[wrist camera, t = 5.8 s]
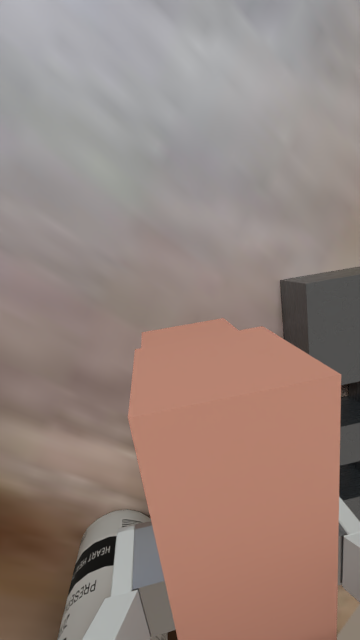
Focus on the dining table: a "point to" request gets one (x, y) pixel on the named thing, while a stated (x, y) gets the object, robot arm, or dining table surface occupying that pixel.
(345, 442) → the rail
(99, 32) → the dining table surface
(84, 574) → the supplement can
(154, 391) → the pink notched block
